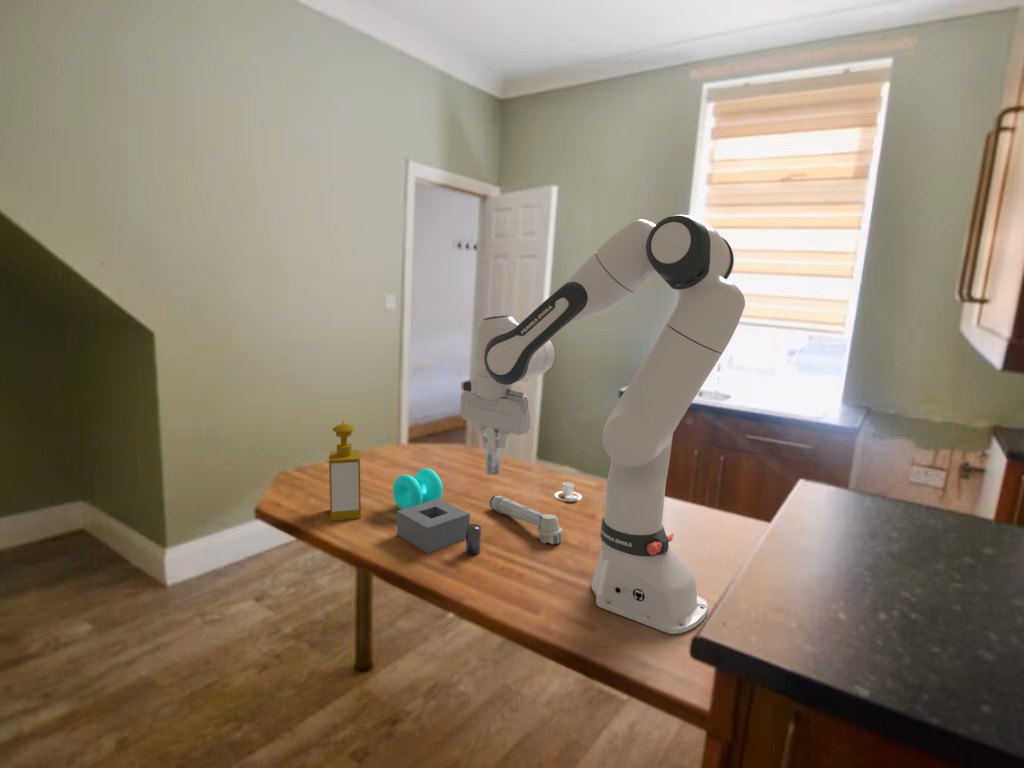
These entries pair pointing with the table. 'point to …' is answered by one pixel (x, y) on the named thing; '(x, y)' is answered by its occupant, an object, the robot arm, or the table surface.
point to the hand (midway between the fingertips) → (493, 445)
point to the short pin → (473, 539)
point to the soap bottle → (344, 477)
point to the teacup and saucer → (568, 492)
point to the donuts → (417, 488)
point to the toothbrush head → (530, 518)
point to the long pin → (492, 452)
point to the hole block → (432, 525)
